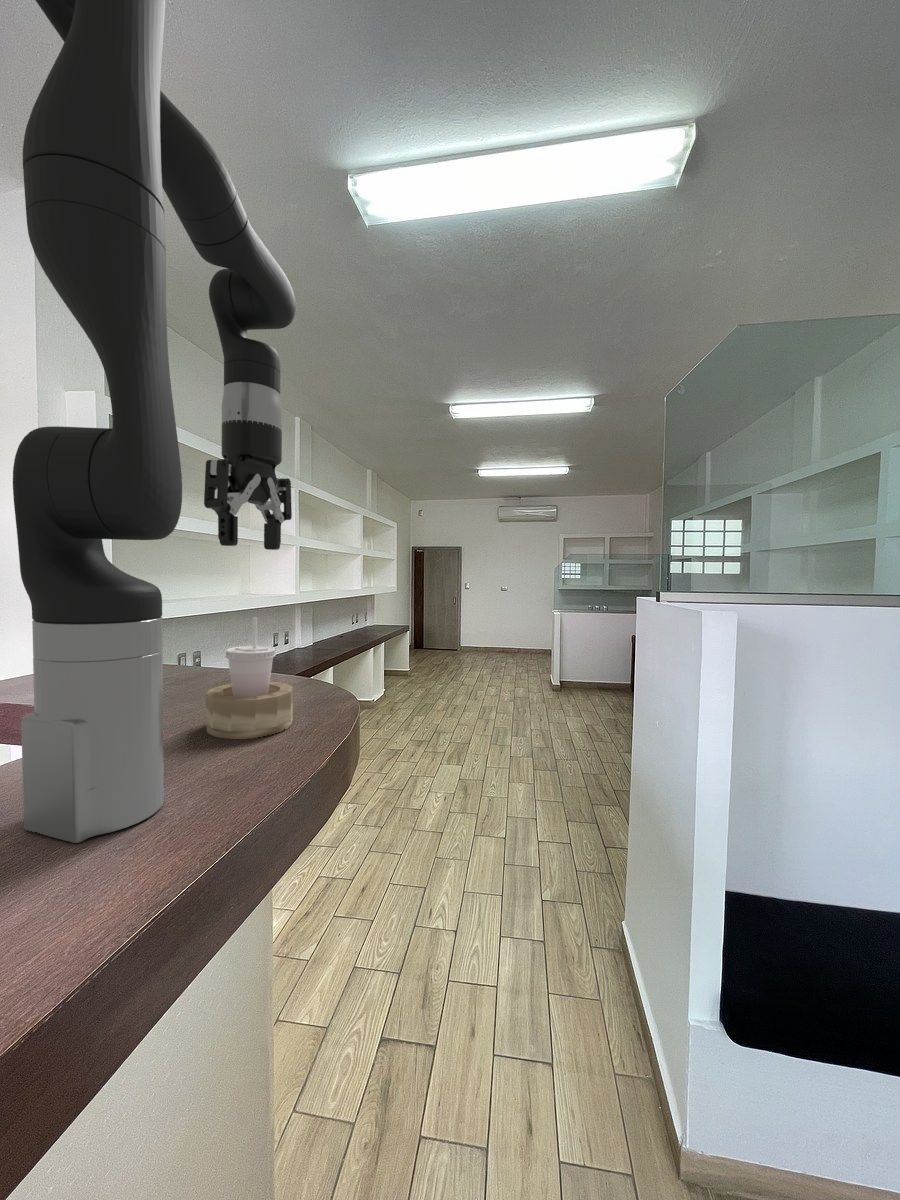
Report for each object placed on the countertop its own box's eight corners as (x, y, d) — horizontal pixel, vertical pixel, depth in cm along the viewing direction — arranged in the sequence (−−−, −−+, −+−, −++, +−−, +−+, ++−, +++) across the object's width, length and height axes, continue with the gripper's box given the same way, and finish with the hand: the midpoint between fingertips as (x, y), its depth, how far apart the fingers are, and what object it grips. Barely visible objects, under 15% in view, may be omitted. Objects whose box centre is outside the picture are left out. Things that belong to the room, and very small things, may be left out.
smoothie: (264, 726, 67) (265, 620, 66) (216, 725, 67) (216, 619, 66) (281, 713, 73) (282, 616, 72) (237, 711, 73) (237, 614, 73)
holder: (257, 743, 63) (257, 704, 63) (187, 732, 67) (187, 695, 66) (308, 719, 74) (308, 685, 73) (245, 711, 77) (245, 678, 77)
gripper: (237, 406, 60) (236, 544, 61) (307, 438, 74) (306, 550, 74) (187, 411, 62) (187, 544, 63) (264, 441, 76) (263, 550, 77)
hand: (251, 547), depth 69 cm, fingers open, 8 cm apart
